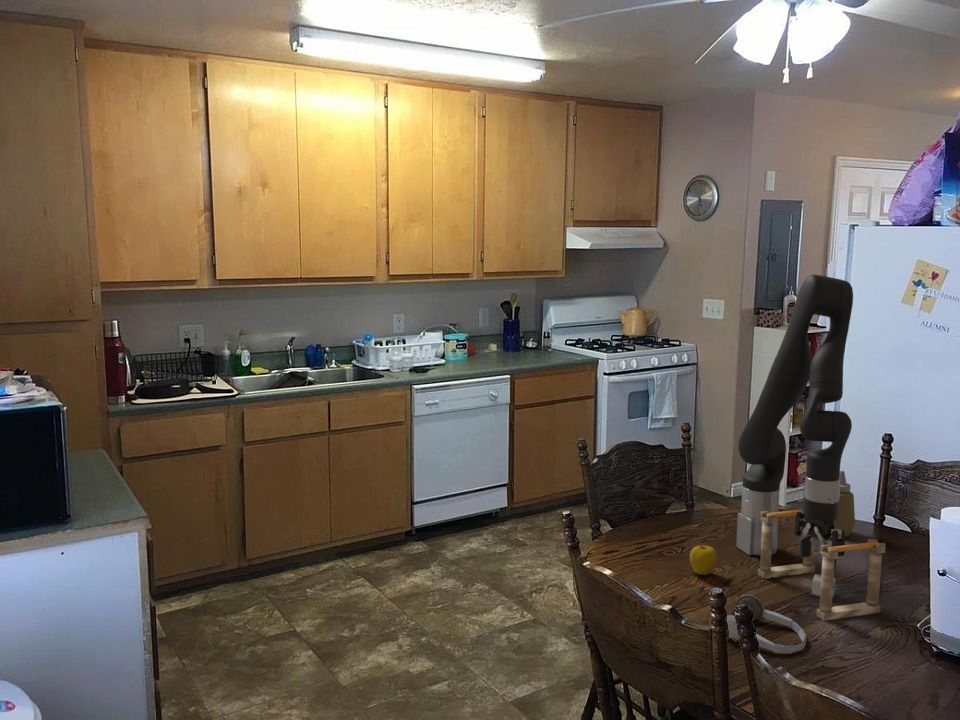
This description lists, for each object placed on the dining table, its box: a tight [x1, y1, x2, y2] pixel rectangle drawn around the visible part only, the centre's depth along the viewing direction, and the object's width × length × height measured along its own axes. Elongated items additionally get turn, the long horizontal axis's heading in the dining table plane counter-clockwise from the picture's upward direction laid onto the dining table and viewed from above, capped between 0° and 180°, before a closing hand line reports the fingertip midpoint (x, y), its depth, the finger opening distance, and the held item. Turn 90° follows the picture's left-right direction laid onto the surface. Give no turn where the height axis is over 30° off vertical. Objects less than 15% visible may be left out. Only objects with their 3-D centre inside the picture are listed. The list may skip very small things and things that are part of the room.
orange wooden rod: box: [766, 509, 803, 518], centre depth 191 cm, size 13×1×1 cm, turn 104°
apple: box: [689, 544, 718, 576], centre depth 193 cm, size 6×6×8 cm
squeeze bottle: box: [834, 470, 856, 538], centre depth 217 cm, size 8×8×18 cm
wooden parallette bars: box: [757, 511, 886, 621], centre depth 182 cm, size 14×25×16 cm, turn 14°
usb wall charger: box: [800, 573, 837, 599], centre depth 182 cm, size 4×7×4 cm, turn 57°
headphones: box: [725, 587, 807, 655], centre depth 165 cm, size 17×6×20 cm
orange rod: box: [827, 541, 879, 552], centre depth 170 cm, size 13×1×1 cm, turn 104°
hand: (817, 563), depth 182 cm, fingers open, 8 cm apart
